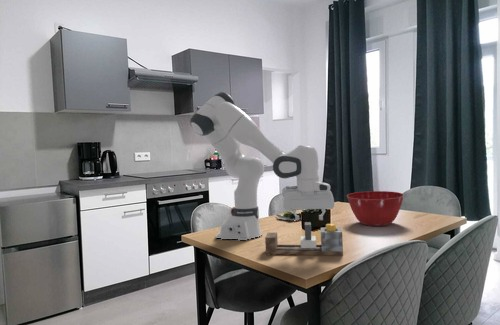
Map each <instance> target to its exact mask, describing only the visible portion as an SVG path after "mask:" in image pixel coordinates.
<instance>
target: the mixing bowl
mask: <svg viewBox="0 0 500 325" xmlns="http://www.w3.org/2000/svg"><path fill="white" fill-rule="evenodd" d="M346 197H347V200H348V204H349V207H350V209H351V212H352V213H353V214H354V216H355V218H356V220H357V221H358V222H360V223H361V224H363V225H365V226H368V227H386V226H389V225H390V224H392V223H393V222H394V221H395V219H396V218H397V217H398V214H399V212H400V210H401V206H402V203H403V199H404V197H405V194H404V193H401V192H398V191H397V192H396V191H390V190H389V191H388V190H387V191H386V190H382V191H381V190H373V191H372V190H371V191H370V190H369V191H359V192H358V191H356V192H353V193H348V194H346Z"/></svg>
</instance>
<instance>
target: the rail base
mask: <svg viewBox="0 0 500 325" xmlns="http://www.w3.org/2000/svg"><path fill="white" fill-rule="evenodd" d="M264 238H265V243H264V244H265V255H266V254H296V255H295V256H344V251H343V250H344V246H343V244H344V243H343V241H344V239H343V231H342V227H341V226H339V227H337V226H336V231H326V227H320V244H316V248H301V244H279V243H278V232H267V233H266V235H265V237H264Z"/></svg>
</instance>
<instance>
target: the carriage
mask: <svg viewBox="0 0 500 325" xmlns="http://www.w3.org/2000/svg"><path fill="white" fill-rule="evenodd" d="M300 245H301V248H316V245H317V237H316V235H312V222H311V221H309V222H308V221H305V222H304V235H301V236H300Z"/></svg>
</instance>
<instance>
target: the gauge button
mask: <svg viewBox="0 0 500 325" xmlns="http://www.w3.org/2000/svg"><path fill="white" fill-rule="evenodd" d="M336 227H337V224H336V223H326V224H325V228H326V231H336Z"/></svg>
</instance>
